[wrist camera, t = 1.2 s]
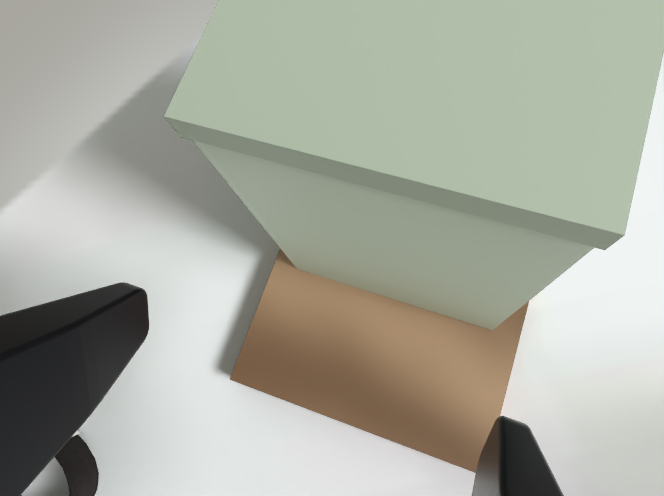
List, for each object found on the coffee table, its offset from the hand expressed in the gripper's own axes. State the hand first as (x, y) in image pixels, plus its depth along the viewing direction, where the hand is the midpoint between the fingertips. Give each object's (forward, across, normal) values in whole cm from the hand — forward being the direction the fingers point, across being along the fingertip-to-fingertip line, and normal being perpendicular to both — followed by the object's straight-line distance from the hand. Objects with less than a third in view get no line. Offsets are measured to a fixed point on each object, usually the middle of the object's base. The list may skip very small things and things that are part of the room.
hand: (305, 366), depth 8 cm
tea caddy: (+14, 0, +3) cm, 14 cm away
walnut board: (+13, 0, +5) cm, 14 cm away
